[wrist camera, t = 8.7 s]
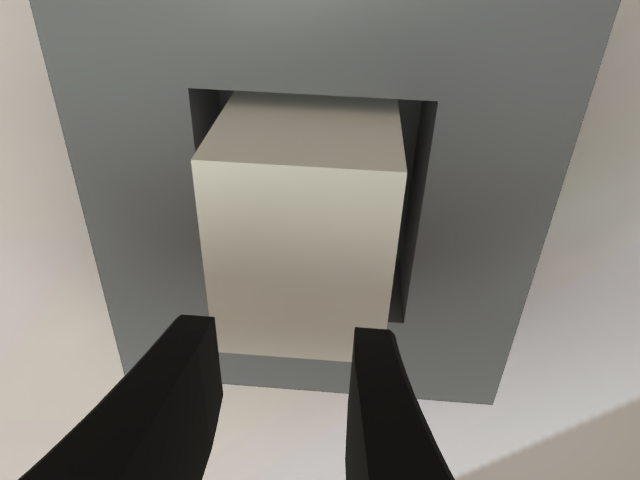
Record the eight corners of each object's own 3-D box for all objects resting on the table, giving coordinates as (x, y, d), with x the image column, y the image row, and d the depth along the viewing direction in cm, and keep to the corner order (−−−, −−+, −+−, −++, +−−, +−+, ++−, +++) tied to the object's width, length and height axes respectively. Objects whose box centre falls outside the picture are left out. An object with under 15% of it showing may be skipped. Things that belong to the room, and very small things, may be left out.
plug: (394, 79, 14) (407, 172, 10) (378, 235, 17) (381, 364, 13) (246, 71, 15) (190, 160, 10) (254, 227, 17) (213, 351, 13)
